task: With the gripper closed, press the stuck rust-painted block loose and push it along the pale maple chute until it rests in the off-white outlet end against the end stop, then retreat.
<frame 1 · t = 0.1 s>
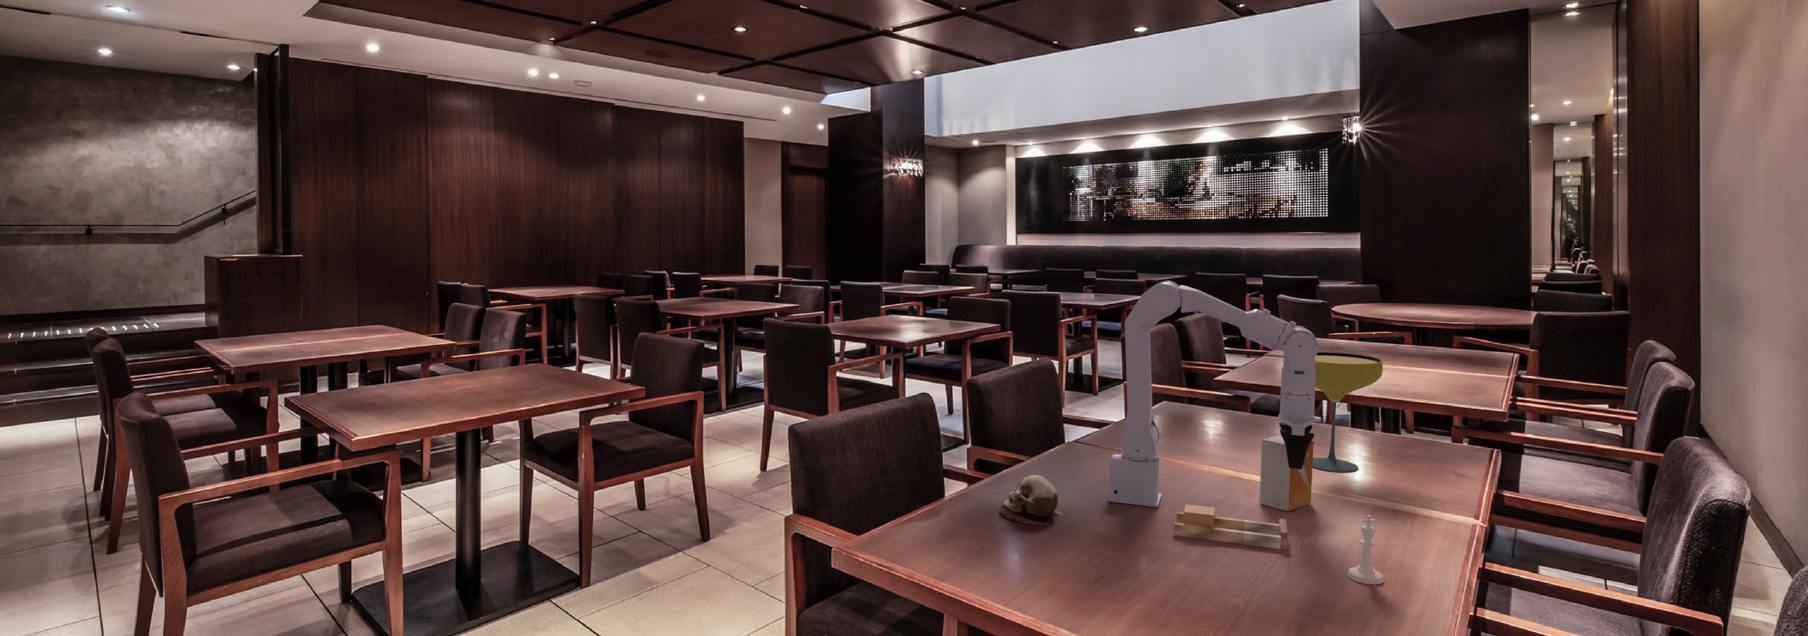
hand: (1294, 464, 152), 10 cm above the table, tool pointing down, fingers open, 4 cm apart
chute: (1225, 535, 145), on the table
chess piece: (1365, 579, 127), on the table
cocktail glass: (1331, 466, 187), on the table
skull: (1031, 515, 157), on the table
small box: (1285, 505, 161), on the table, touching gripper
block: (1199, 520, 147), point 2 cm above the table, slide at 0.0 cm
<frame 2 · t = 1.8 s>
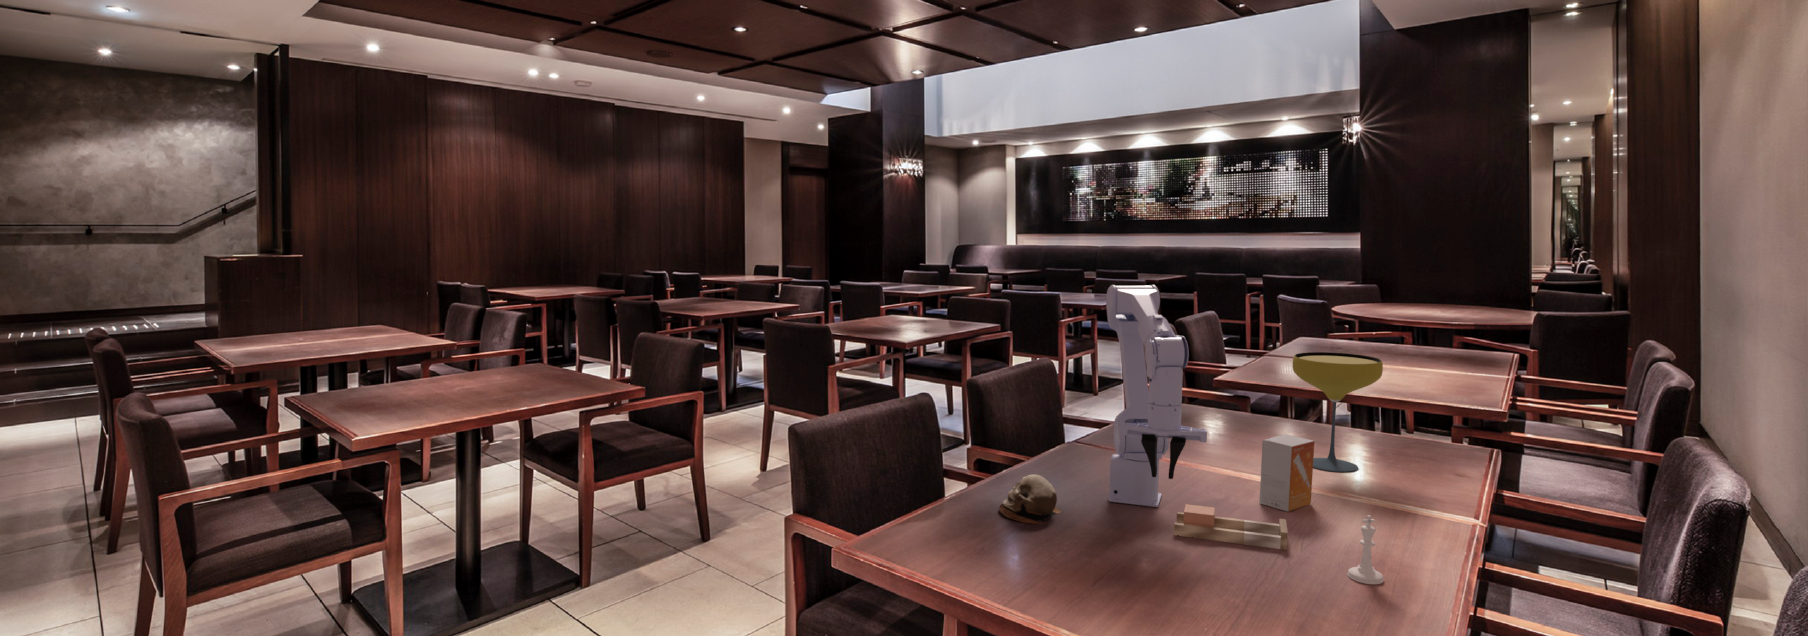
hand: (1162, 476, 148), 9 cm above the table, tool pointing down, fingers closed
small box: (1285, 505, 161), on the table
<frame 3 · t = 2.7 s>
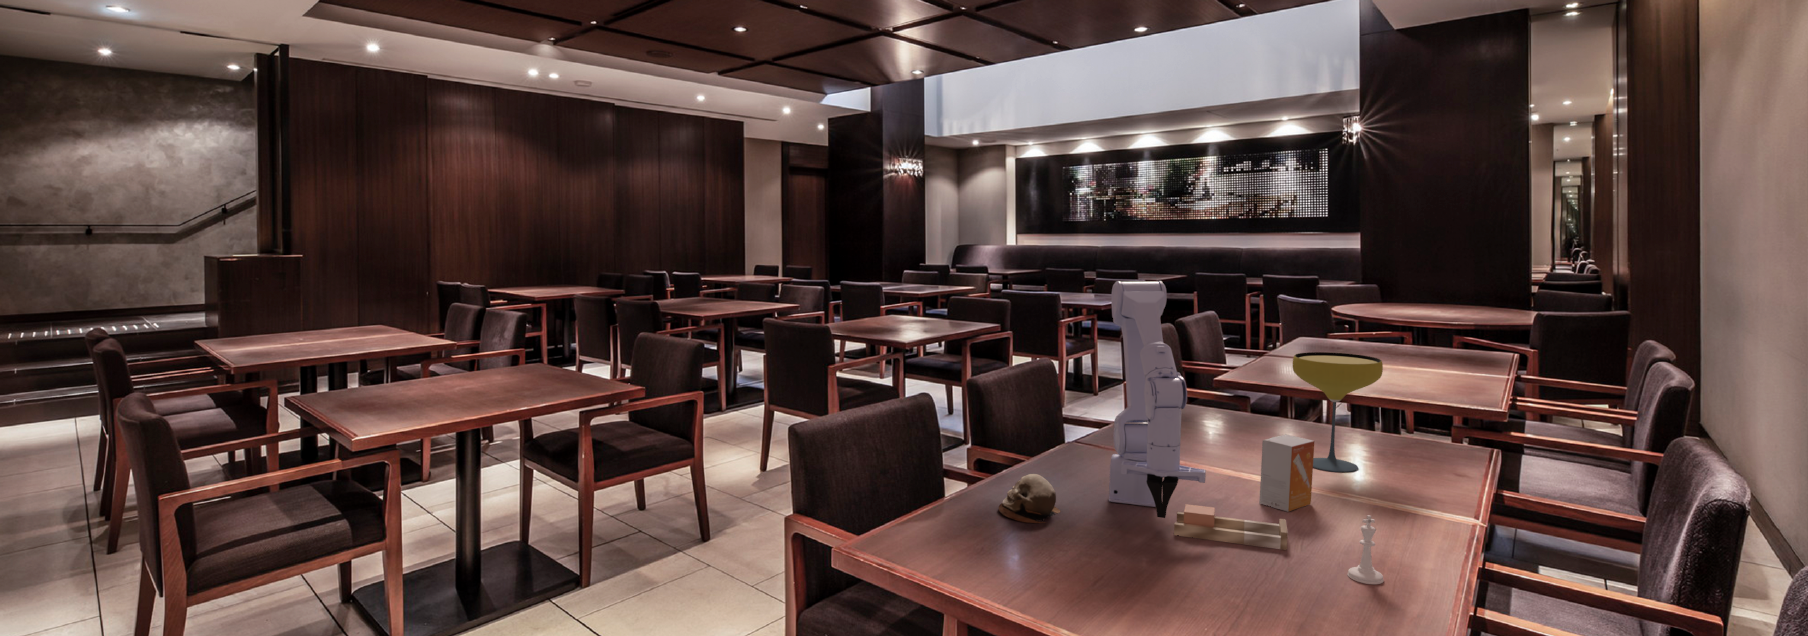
hand: (1161, 516, 149), 2 cm above the table, tool pointing down, fingers closed
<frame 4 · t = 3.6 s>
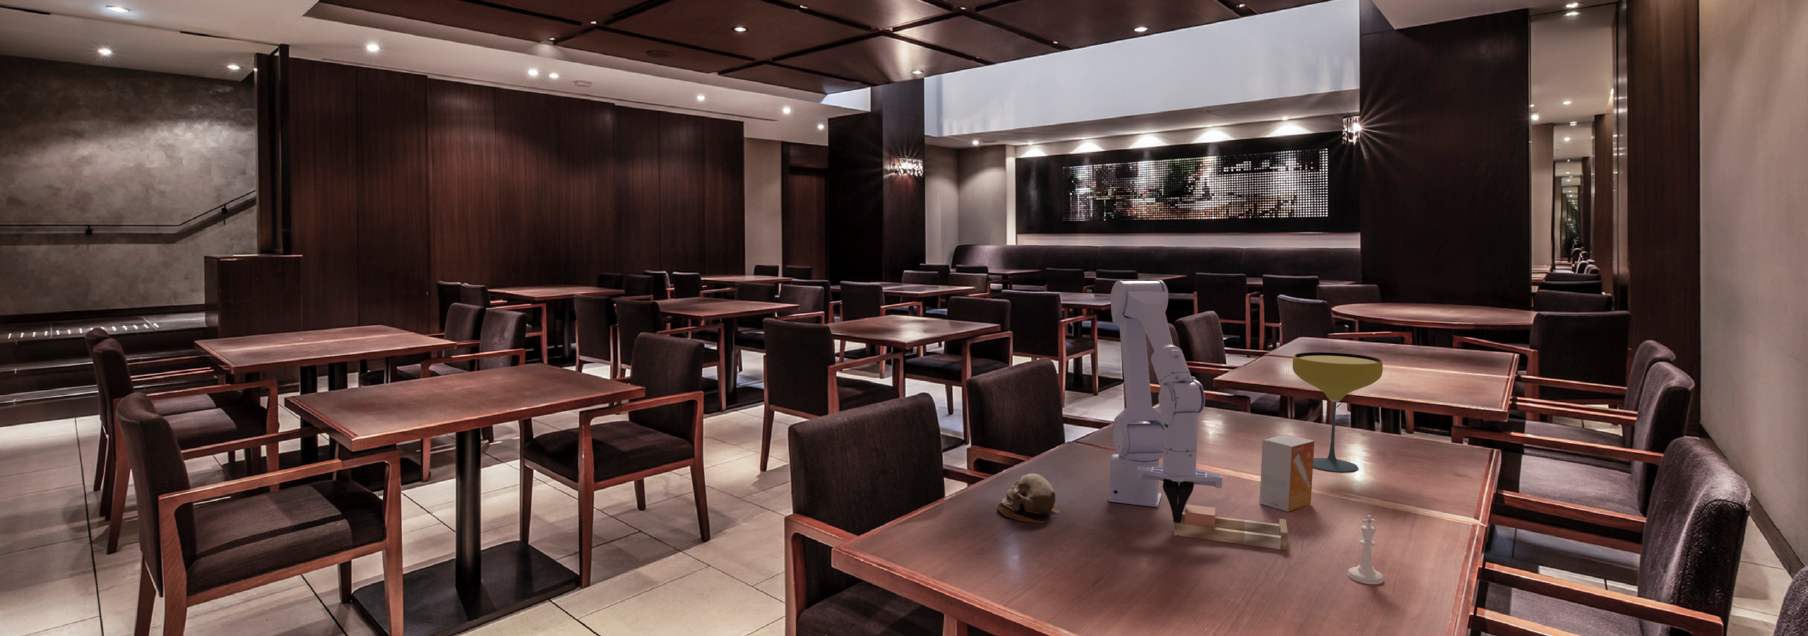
hand: (1177, 521, 148), 1 cm above the table, tool pointing down, fingers closed
block: (1200, 520, 147), point 2 cm above the table, slide at 0.2 cm, touching gripper
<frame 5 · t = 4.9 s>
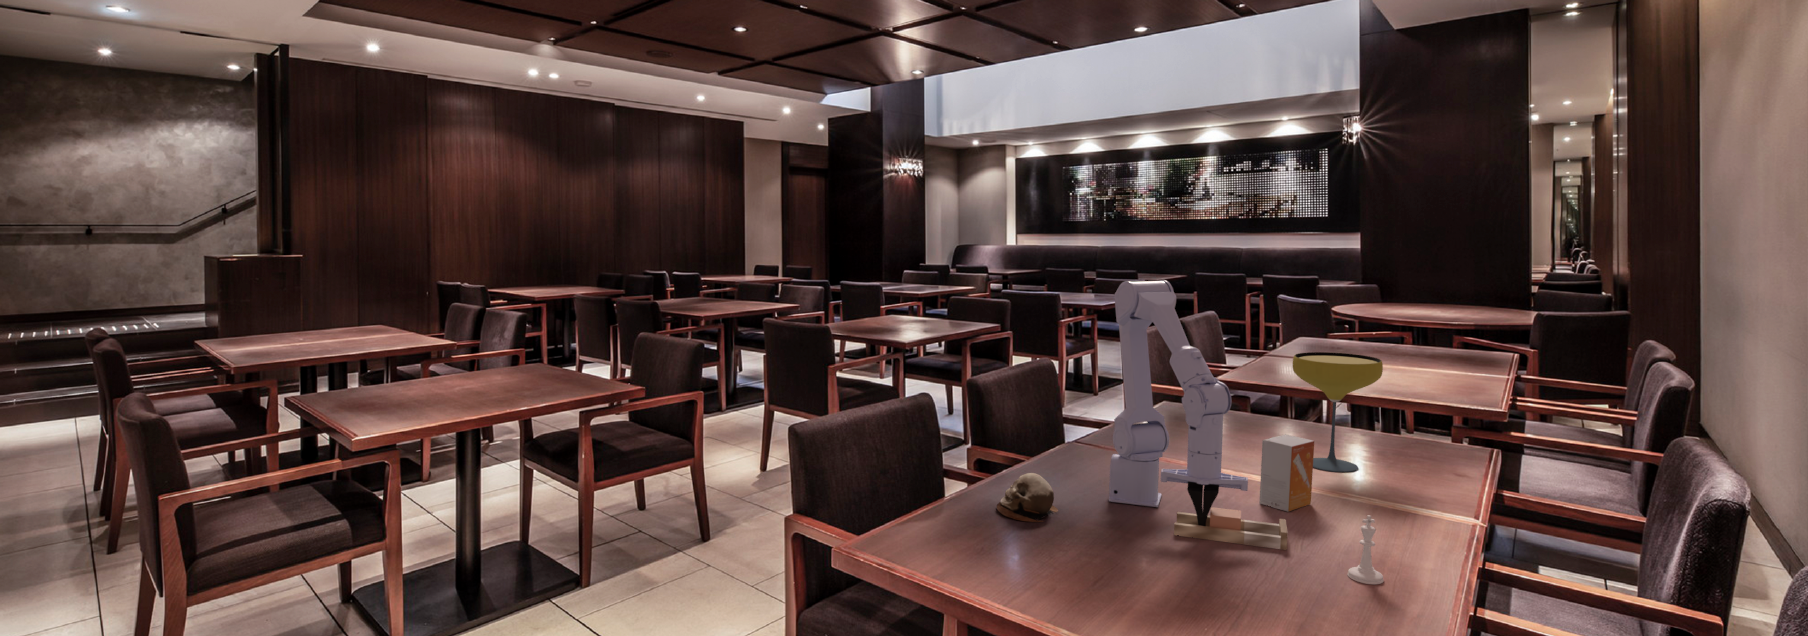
hand: (1202, 524, 146), 1 cm above the table, tool pointing down, fingers closed
block: (1225, 523, 145), point 2 cm above the table, slide at 4.4 cm, touching gripper
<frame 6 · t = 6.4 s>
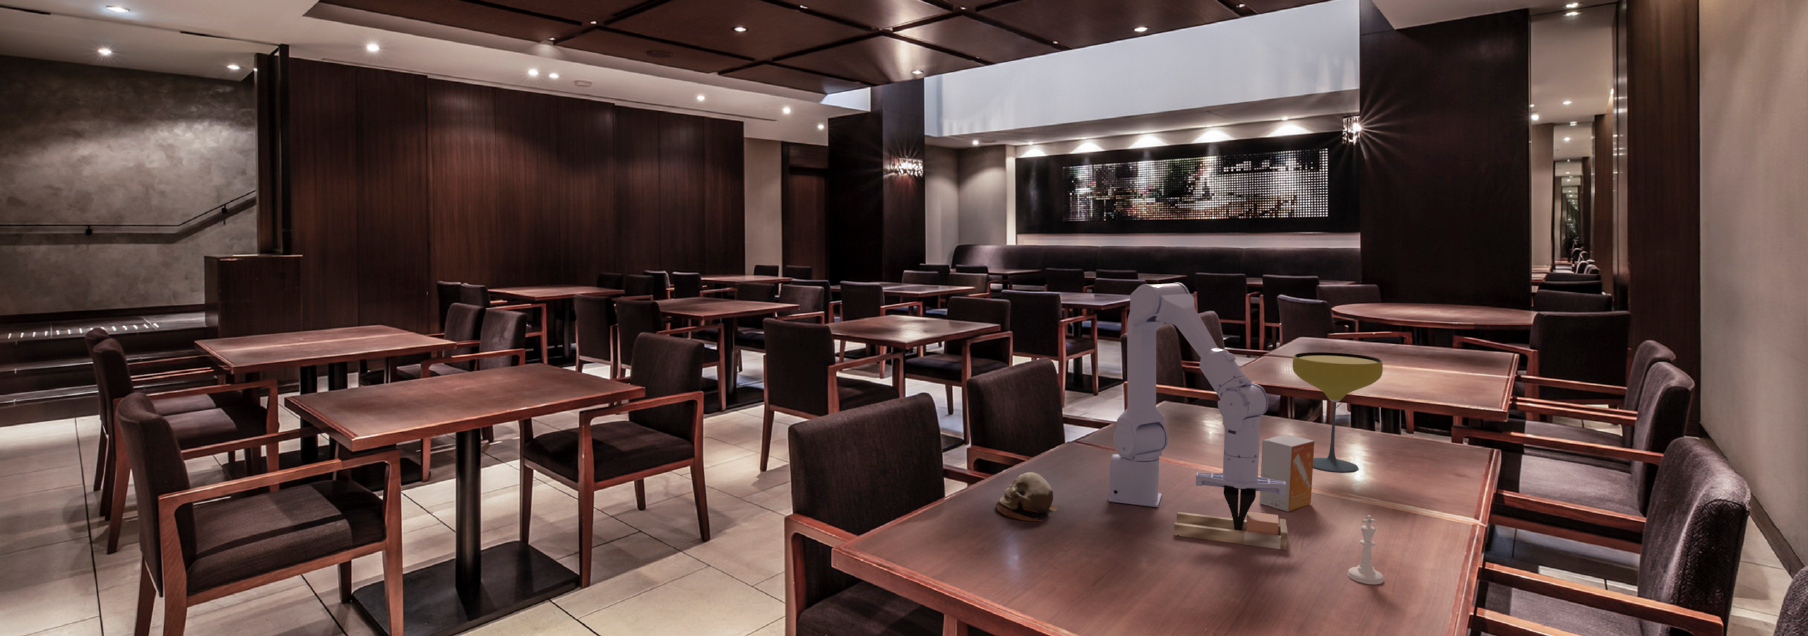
hand: (1238, 528, 144), 1 cm above the table, tool pointing down, fingers closed
block: (1262, 528, 143), point 2 cm above the table, slide at 10.4 cm, touching gripper
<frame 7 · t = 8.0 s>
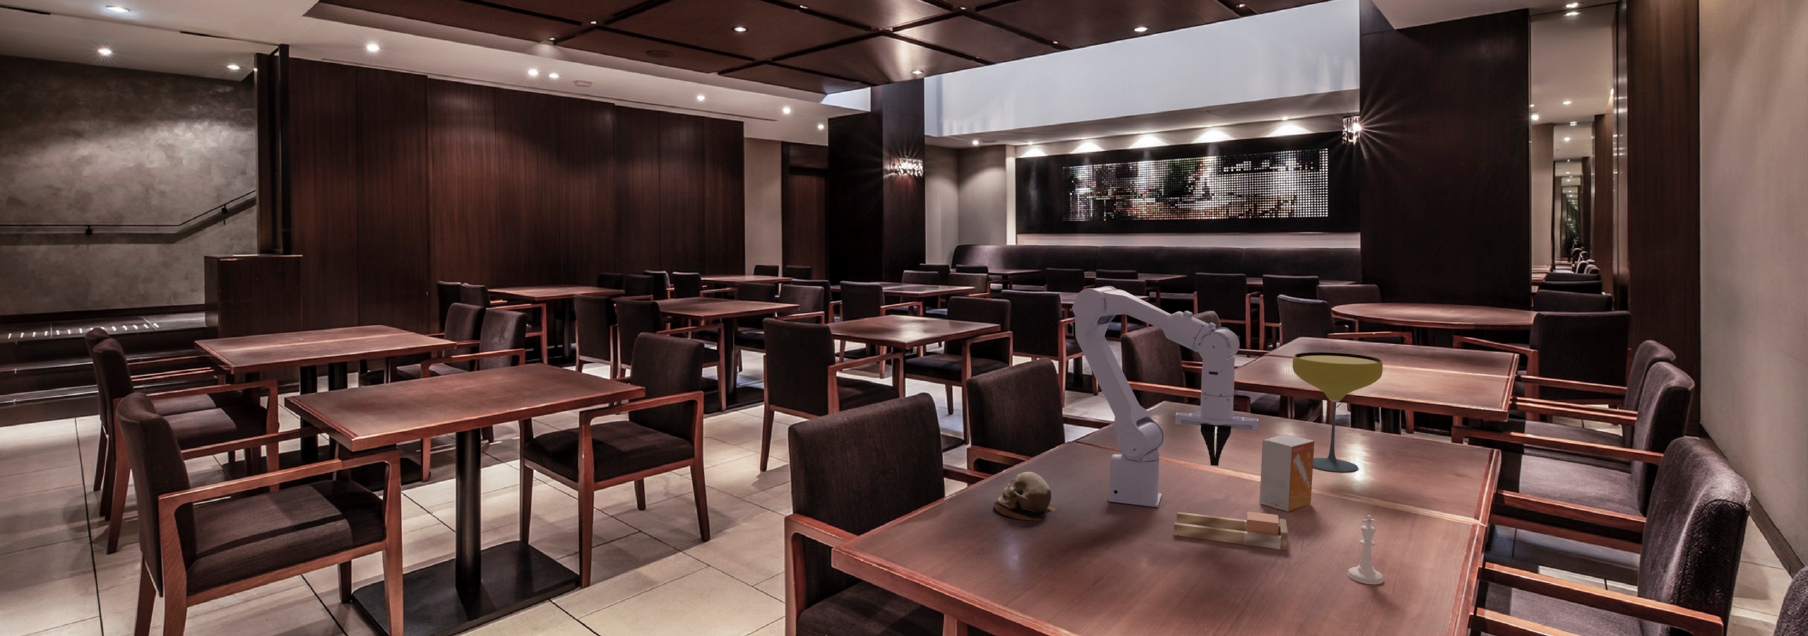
hand: (1214, 464, 154), 10 cm above the table, tool pointing down, fingers closed
block: (1262, 528, 143), point 2 cm above the table, slide at 10.4 cm
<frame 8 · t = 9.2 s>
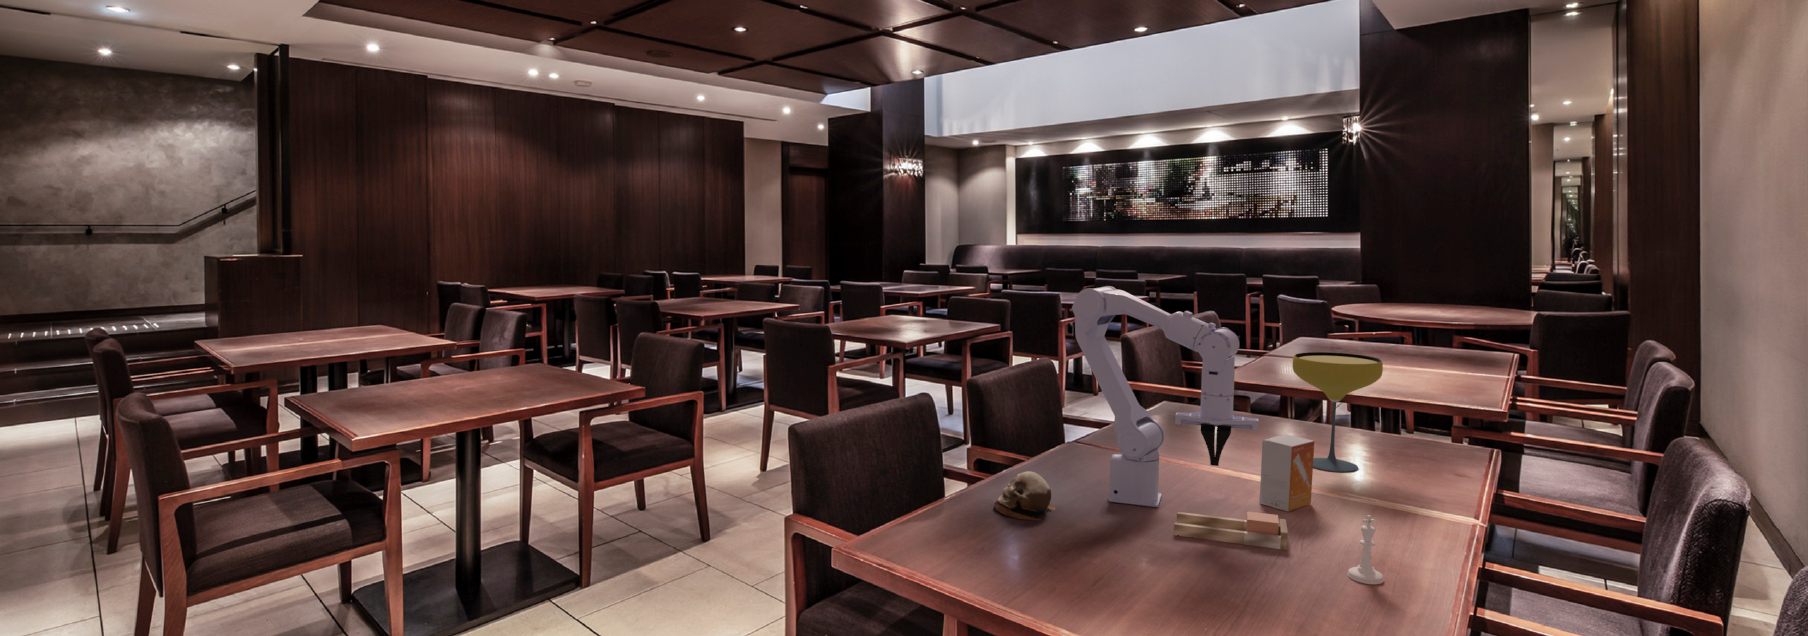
hand: (1214, 464, 154), 10 cm above the table, tool pointing down, fingers closed
at the end: block slide at 10.4 cm; the gripper is holding nothing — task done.
